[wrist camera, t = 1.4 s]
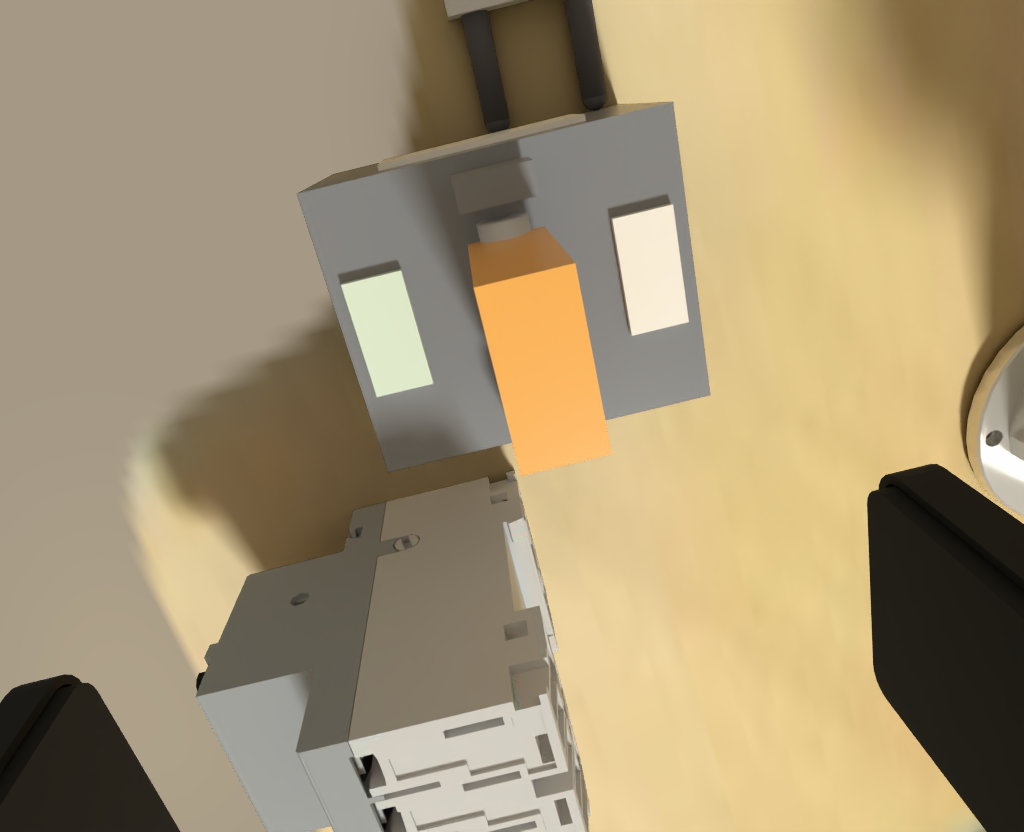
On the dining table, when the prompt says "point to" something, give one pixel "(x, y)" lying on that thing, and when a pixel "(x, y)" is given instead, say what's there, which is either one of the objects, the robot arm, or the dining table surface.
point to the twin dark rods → (472, 7)
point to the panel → (448, 279)
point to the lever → (538, 343)
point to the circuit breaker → (402, 678)
